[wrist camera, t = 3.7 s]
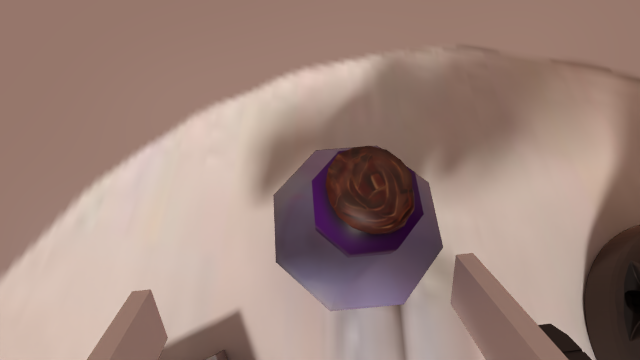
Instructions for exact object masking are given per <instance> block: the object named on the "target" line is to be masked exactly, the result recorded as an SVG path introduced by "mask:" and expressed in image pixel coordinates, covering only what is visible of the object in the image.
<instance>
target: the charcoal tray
mask: <svg viewBox="0 0 640 360" xmlns="http://www.w3.org/2000/svg"><path fill="white" fill-rule="evenodd" d="M205 360H228V359H227V356H226V353H225V350H223V351H221V352H219V353H217V354H215V355H213V356H211V357H209V358H207V359H205Z"/></svg>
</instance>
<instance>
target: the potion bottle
mask: <svg viewBox="0 0 640 360" xmlns="http://www.w3.org/2000/svg"><path fill="white" fill-rule="evenodd" d="M274 221H275V248H276V263H278V264H279V265H280V266H281V267H282V268H283V269H284V270H285V271H286V272H288V273H289V274H290V275H291V276H292V277H293V278H294V279H295V280H296V281H298V282H299V283H300V284H301V285H302V286H303V287H304V288H305V289H306V290H308V291H309V292H310V293H311V294H312V295H313V296H314V297H315V298H316V299H318V300H319V301H320V302H321V303H322V304H323V305H324V306H325V307H326V308H328V309H329V310H330V311H337V310H347V309H358V308H369V307H379V306H390V305H400V304H404V303H405V302H406V300H407V299H408V297H409V296H410V294H411V293H412V291H413V290H414V289H415V287H416V286H417V284H418V283H419V281H420V280H421V278H422V277H423V276H424V274H425V273H426V271H427V270H428V268H429V267H430V265H431V264H432V263H433V261H434V260H435V258H436V257H437V255H438V254H439V252H440V251H441V250H442V248H443V245H442V240H441V236H440V231H439V227H438V222H437V218H436V214H435V209H434V205H433V200H432V196H431V191H430V187H429V183H428V182H427V181H425V180H424V179H423V178H421V177H420V176H418V175H417V174H416V173H415V172H414V171H412V170H411V169H409V168H408V167H407V166H405V165H404V163H403V162H402V161H401V160H400V159H398V158H397V157H396V156H394V155H393V154H391V153H390V152H389V151H387V150H385V149H381V148H379V147H378V146H364V147H354V148H341V149H328V150H316V151H315V152H314V153H313V154H312V155H311V156H310V157H309V158H308V159H307V160H306V161H305V162H304V164H303V165H302V166H301V167H300V168H299V169H298V170H297V171H296V172H295V173H294V174H293V175H292V176H291V177H290V178H289V179H288V181H287V182H286V183H285V184H284V185H283V186H282V187H281V188H280V189H279V190H278V191H277V192H276V193H275V194H274Z"/></svg>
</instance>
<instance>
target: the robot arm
mask: <svg viewBox="0 0 640 360" xmlns="http://www.w3.org/2000/svg"><path fill="white" fill-rule="evenodd" d="M451 305H452V307H453V308H454V310H455V311H456V313H457V315H458V316H459V318H460V319H461V321H462V322H463V324H464V326H465V327H466V329H467V330H468V332H469V334H470V335H471V337H472V338H473V340H474V341H475V343H476V345H477V346H478V348H479V349H480V351H481V353H482V354H483V356H484V357H485V359H486V360H592V359H591V358H590V357H589V356H588V355H587V354H586V353H585V352H582V349H581V348H580V347H579V346H578V345H577V344H576V343H575V342H574V341H573V340H572V339H571V338H570V337H569V336H568V335H567V334H565V333H564V332H562V331H561V330H559V329H558V328H556V327H555V326H553V325H552V324H544V325H537V324H536V323H535V322H534V321H533V319H532V318H531V317H530V316H529V315H528V314H527V313H526V312H525V311H524V309H523V308H522V307H521V306H520V305H519V304H518V303H517V302H516V301H515V299H514V298H513V297H512V296H511V295H510V294H509V293H508V292H507V291H506V289H505V288H504V287H503V286H502V285H501V284H500V283H499V282H498V280H497V279H496V278H495V277H494V276H493V275H492V274H491V273H490V272H489V270H488V269H487V268H486V267H485V266H484V265H483V264H482V263H481V262H480V260H479V259H478V258H477V257H476V256H475V255H474V254H473V253H469V254H461V255H456V259H455V268H454V277H453V286H452V295H451ZM585 312H586V321H587V328H588V332H589V337H590V341H591V344H592V348H593V351H594V353H595V356H596V359H597V360H640V225H638V226H635V227H632V228H630V229H627V230H625V231H623V232H622V233H620V234H618V235H617V236H615V237H614V238H613V239H611V240H610V241H609V242H608V243H607V244H606V245H605V246H604V248H603V249H602V250H601V251H600V253H599V254H598V256H597V258H596V259H595V261H594V263H593V266H592V268H591V271H590V274H589V277H588V281H587V286H586V295H585ZM167 338H168V337H167V334H166V331H165V328H164V326H163V323H162V320H161V317H160V314H159V311H158V308H157V306H156V303H155V300H154V297H153V294H152V291H151V290H142V291H133V292H132V293H131V294H130V296H129V297H128V299H127V300H126V302H125V303H124V305H123V306H122V308H121V309H120V311H119V312H118V314H117V315H116V317H115V318H114V320H113V321H112V323H111V324H110V326H109V327H108V329H107V330H106V332H105V333H104V335H103V336H102V338H101V339H100V341H99V342H98V344H97V345H96V347H95V348H94V350H93V351H92V353H91V354H90V356H89V357H88V359H87V360H158V359H159V357H160V354H161V352H162V350H163V347H164V345H165V343H166V341H167Z"/></svg>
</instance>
